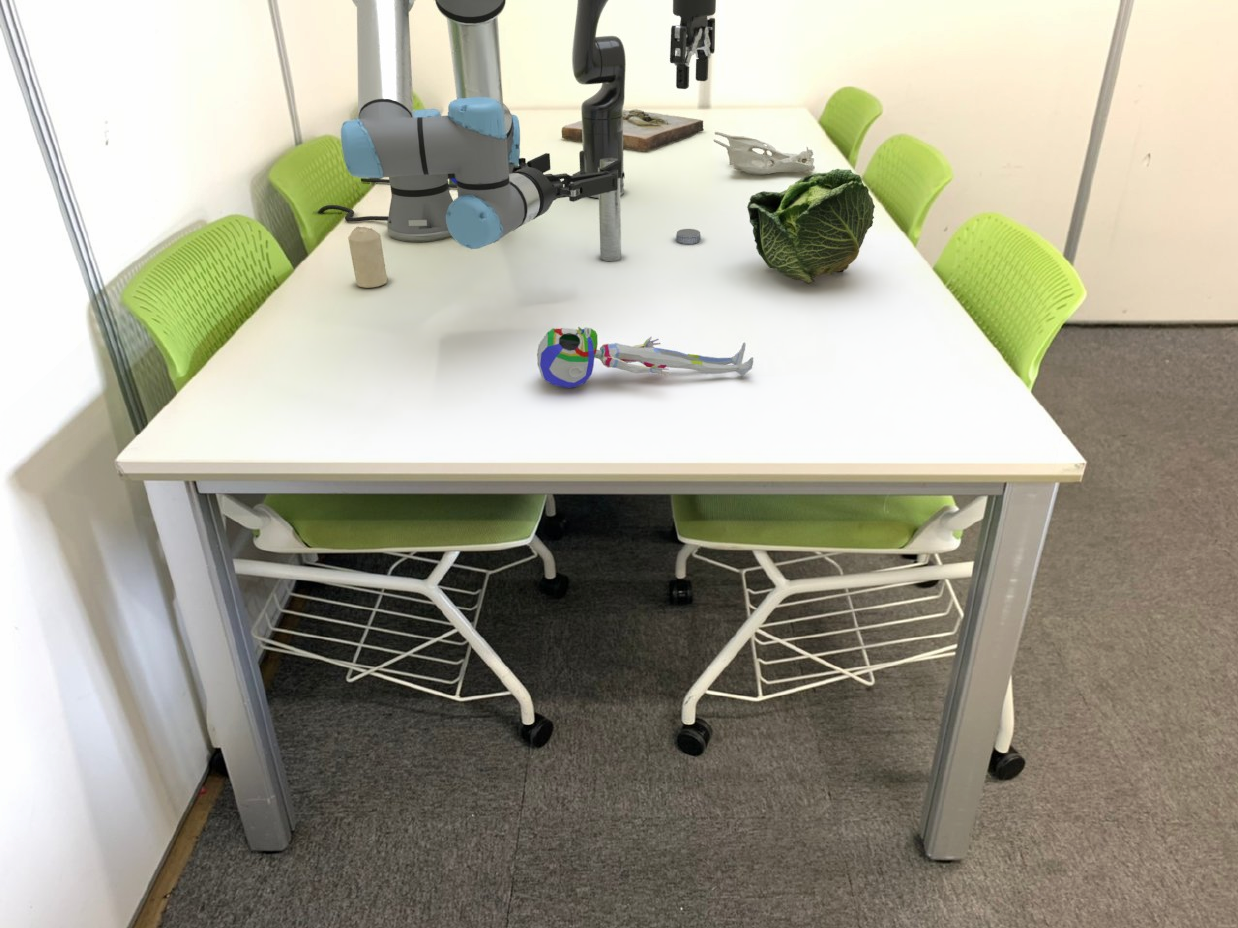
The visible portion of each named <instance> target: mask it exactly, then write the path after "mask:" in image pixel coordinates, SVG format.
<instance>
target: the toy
mask: <svg viewBox="0 0 1238 928" xmlns="http://www.w3.org/2000/svg"><path fill="white" fill-rule="evenodd" d="M577 327H578V328H577V329H576V328H571V327H570V328H568V327H567V328H565V327H564V328H562V327H561V328H551V329H550V330H548V331H547V332H546V334H545V335H544V336H543V338H542V339H541V341H540V342H539V343H538V347H537V350H536V351H537V352H536V358H537V360H536V361H537V367H538V370H539V373H540V377H541V378H542V380H544V381H546V382H547V383H549V384H551V385H553V386H557V387H561V388H569V389H573V388H576V387H578V386H580V385H582V384H585V383H586V382H587V381H588V380H589V379H590V377H591V376H592V374H593V369H594V366H595V359H598V360H600V362H601V364H602V365H603V366H605V367H606V368H608V369H609V368H611V369H612V368H613V369H619V370H623V371H626V372H629V373H633V374H656V375H661V376H665V377H668V375H671V373H670V372H668V371H669V368H671V369H685V370H693V371H697V372H700V373H703V374H706V375H710V374H712V375H715V374H719V375H720V374H726V373H733V372H736V373H737V374H740V375H741V376H745V375H746V374H747V373H748V372H749V371H751V370H752V369H753V366H754V357H753V356H752V357H750V358H749V359H748V360H747V361H745V362H743V361H744V354H745V351H746V342H743V343H742V345H741V348H740V349H739V350H738V352H737V353H735V355H733V356H732V357H731V356H730V357H716V356H714V357H713V356H707V355H700V354H690V353H688V354H687V353H684V352H681V351H677V350H673V349H672V350H671V349H665V348H661V347H654V346H656V345H657V346H658V345H661V342H657V341H659V338H656V339H653V340H652V338H653V337H652V336H650V337H649V338H647V339H646V340H645V342H643V344H636V345H626V344H621V343H617V342H614V343H604V344H602V345H601V346H600V347H599V349H598V333H597V331H596V330H594V329H593V328H591V327H590V328H589V327H584V328H581V327H580V326H577ZM631 363H641V364H642V365H639V364H631ZM643 365H644V366H643ZM665 370H666V371H665Z"/></svg>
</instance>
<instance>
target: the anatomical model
mask: <svg viewBox="0 0 1238 928" xmlns="http://www.w3.org/2000/svg"><path fill="white" fill-rule="evenodd" d="M714 135H717V136H721V137H723V138H726V139H727V140H728V144H729V145H728V144H725V143H724V142H721V140H717V139H713V142H714V143H716V144H718V145H719V146H721V147H724V148H726V150H727V156H728V159H729V164H728V165H729V166H733V169H734V170H736V171H739V172H740V171H742V172H745V173H746V174H749V175H756V176H757V175H758V176H759V175H770V174H775V173H781V172H782V173H783V172H787V173H790V172H792V173H793V172H794V173H803V174H804V173H807V172H808V173H809V172H813V171H814V170H815V165H814V163H815V158H813V155H814V151H813V149H809V147H808V146H806V151H805V150H803V151H801V152H800V153H789V152H781V151H779V150H777V149H776V148H775V147H774V146H772V144H769V143H766V142H764V141H761V140H759V139H756V138H752V137H747V136H742V135H741V136H740V135H731V134H727V133H724V132H719V131H715V132H714ZM753 149H760V150H762V151H763V153H758V152H756V151H754V150H753ZM768 152H770V153H771V154H768Z"/></svg>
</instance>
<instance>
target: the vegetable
mask: <svg viewBox="0 0 1238 928" xmlns="http://www.w3.org/2000/svg"><path fill="white" fill-rule="evenodd" d="M869 192H870V190H869V187H867V185H864V183H863V180H862V177H861V175H860V174H857V173H854V172H853V171H852V169H841V168H836V169H832V170H830V171H828V172H817V173H812V174H807V175H806V176H804V177H802V178H800V179H799V180H796V181H795V183H793V184H791V185H789V186H788V188H787V189H785V190H783V191H779V192H777V191H767V190H762V191H760V192H757V193H755V194H754V195H751V196H750V197H749V202H748V204H747V206H746V208H747V212H748V216H749V223H750V225H751V226H752V234H753V237H754V242H755V244H756V246H755V249H756V251H757V253H758V254H759V256H760V257H761V259H762V260H763V262H764V263H765V264H766V266H767V267H768V268H769V269H771V270H772V269H774V270H776V271H777V272H778V273H780V274H781V275H784V276H785V277H787V278H790V279H792V280H799V281H805V282H806V283H807V284H810V283H811V282H815V279H814V277H817V276H819V275H824V274H828V275H833V274H834V273H837V274H839V273H842V274H843V273H844V271H845V270H848V268H849V266H850V265H851V264H852V263H853V262H854V261H855V260H856V259H857V258H858V256H859V253H860V248H861V247H862V245H863V243H864V240H865V239H866V235H867V233H868V230H869V229H871V228H872V227H873V223H874V219H875V216H874V212H875V208H876V206H875V204H874V200H873V197H872V196H871V195H870V193H869Z"/></svg>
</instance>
